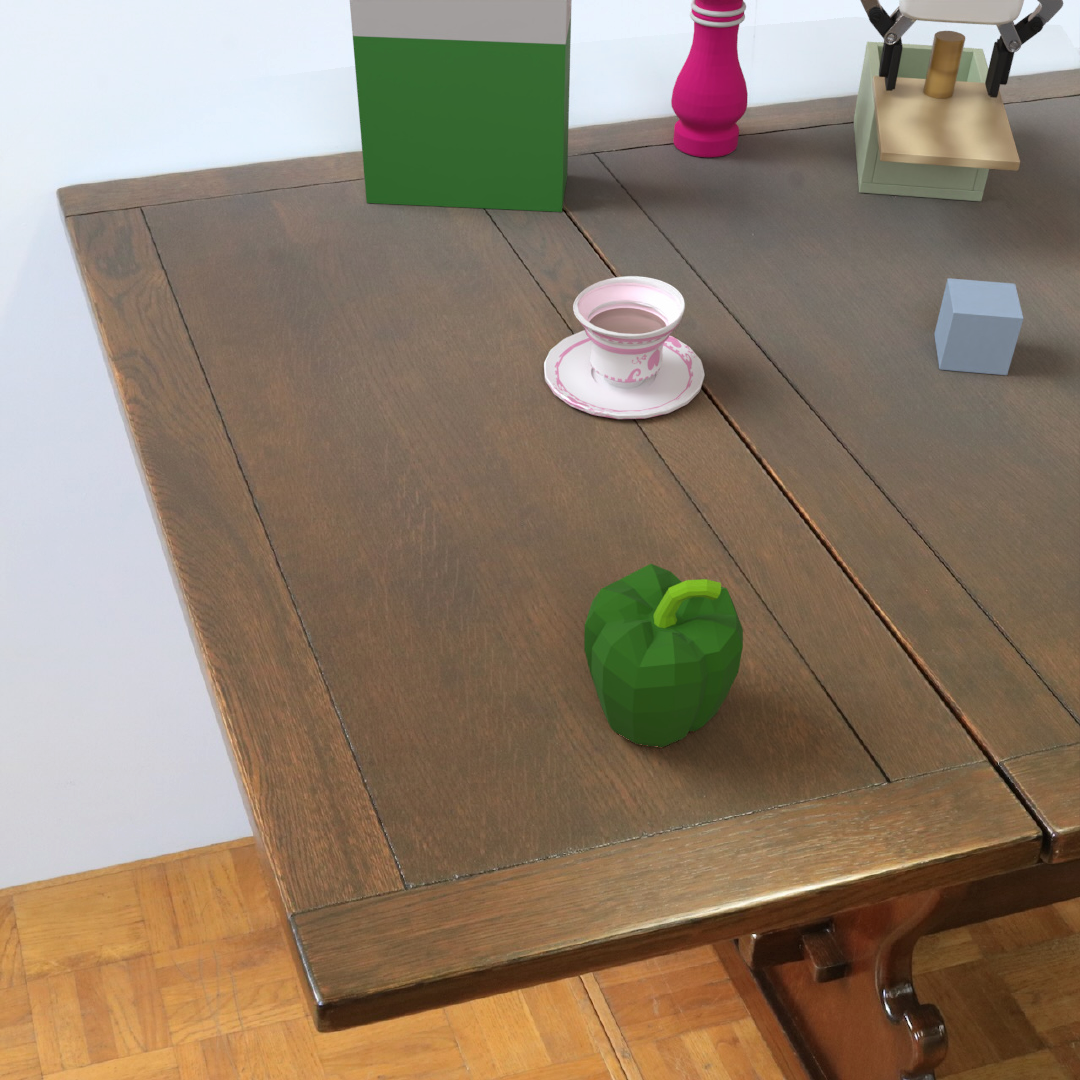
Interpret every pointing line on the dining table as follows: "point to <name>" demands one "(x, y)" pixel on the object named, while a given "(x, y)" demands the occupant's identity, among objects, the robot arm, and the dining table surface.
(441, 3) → the hardback book
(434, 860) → the dining table surface
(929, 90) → the wooden box lid
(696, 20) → the pepper mill
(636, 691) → the bell pepper
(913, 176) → the box
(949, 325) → the block
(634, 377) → the teacup
